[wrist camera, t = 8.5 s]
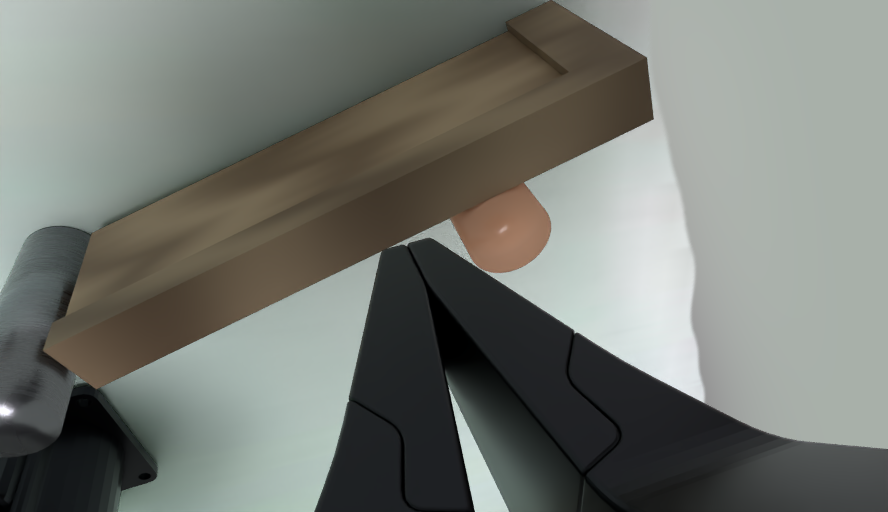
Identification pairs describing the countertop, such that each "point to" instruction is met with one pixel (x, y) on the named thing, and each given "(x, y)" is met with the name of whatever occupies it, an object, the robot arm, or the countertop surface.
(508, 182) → the brown long plank slab
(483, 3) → the countertop surface
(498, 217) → the catch post
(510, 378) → the robot arm
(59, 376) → the hinge post
